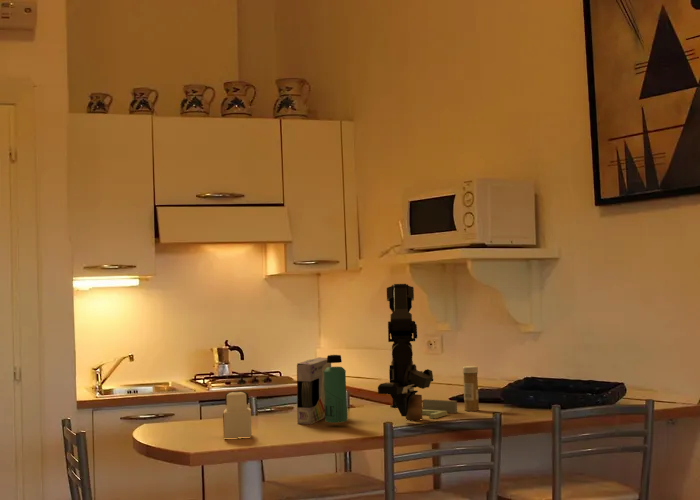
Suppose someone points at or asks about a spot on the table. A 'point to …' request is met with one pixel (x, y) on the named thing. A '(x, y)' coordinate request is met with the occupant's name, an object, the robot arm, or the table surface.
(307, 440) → the table surface
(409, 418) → the brown piece
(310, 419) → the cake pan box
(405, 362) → the robot arm
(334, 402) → the beverage bottle
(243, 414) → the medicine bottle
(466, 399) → the sprinkles bottle
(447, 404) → the backstop wall
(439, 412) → the bracket
